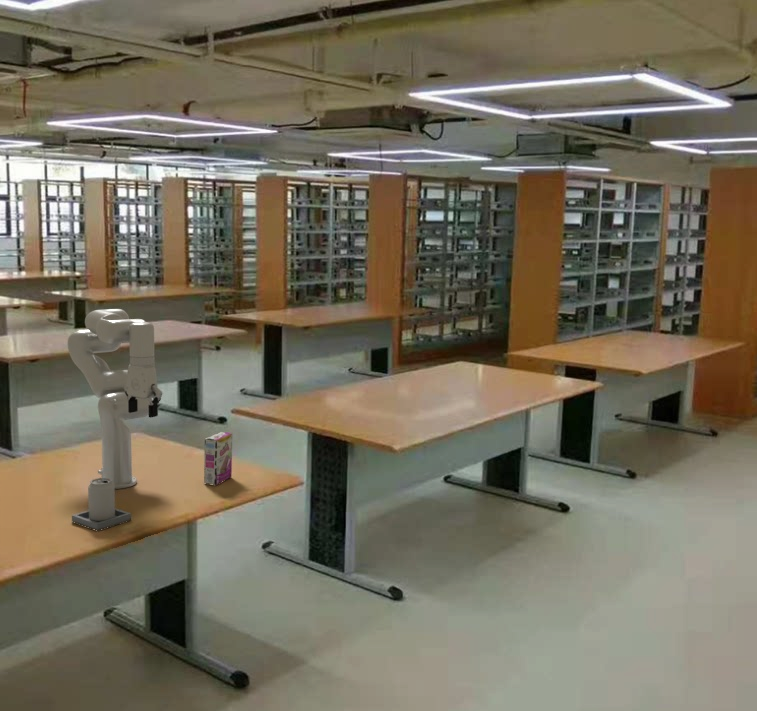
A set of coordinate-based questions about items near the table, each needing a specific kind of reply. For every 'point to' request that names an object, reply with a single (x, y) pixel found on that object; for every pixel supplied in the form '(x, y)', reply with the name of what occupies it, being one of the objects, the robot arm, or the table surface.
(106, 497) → the can
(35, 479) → the table surface
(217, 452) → the candy bar box
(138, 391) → the robot arm
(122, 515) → the tray
